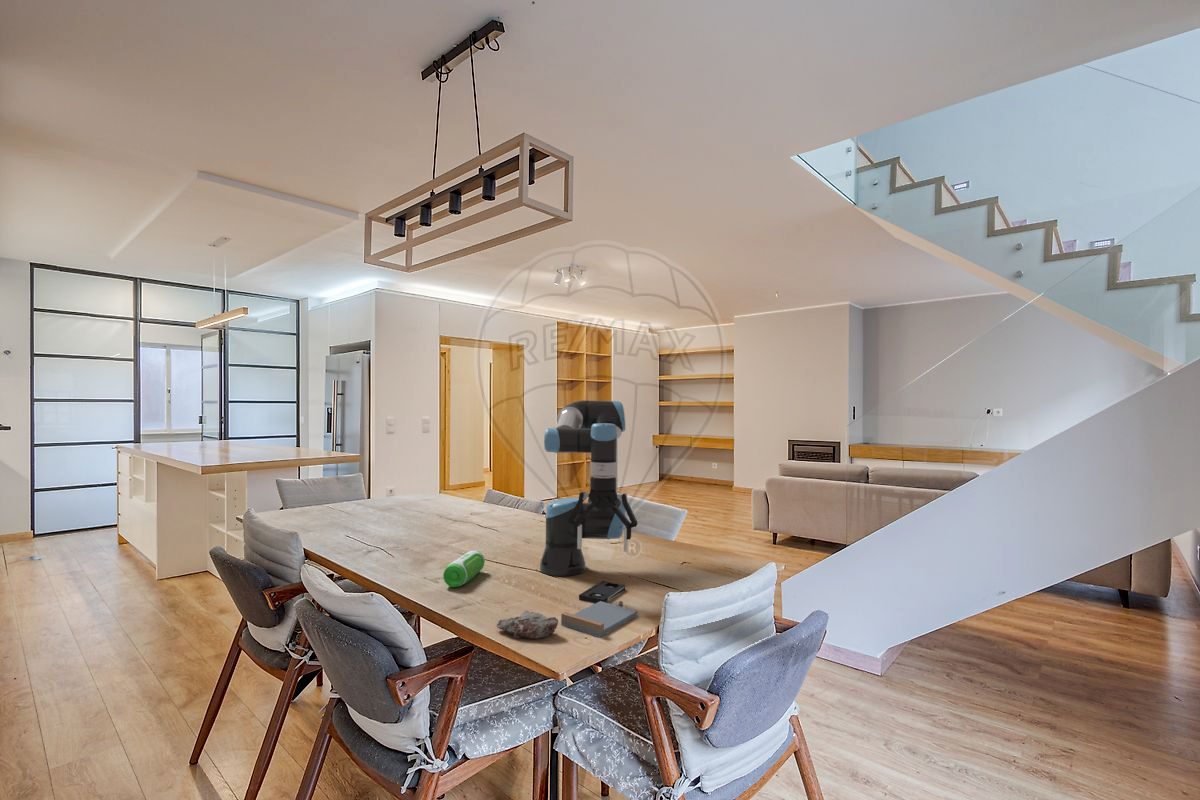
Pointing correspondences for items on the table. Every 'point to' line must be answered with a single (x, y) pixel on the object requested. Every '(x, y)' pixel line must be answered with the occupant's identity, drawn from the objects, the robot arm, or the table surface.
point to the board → (598, 618)
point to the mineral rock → (529, 625)
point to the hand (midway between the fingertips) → (602, 549)
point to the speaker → (463, 569)
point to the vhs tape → (602, 592)
